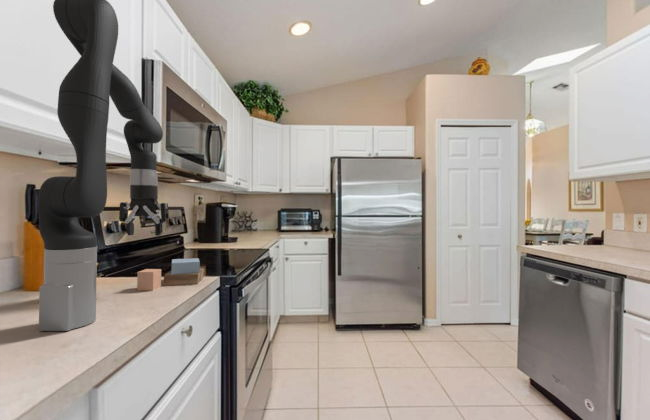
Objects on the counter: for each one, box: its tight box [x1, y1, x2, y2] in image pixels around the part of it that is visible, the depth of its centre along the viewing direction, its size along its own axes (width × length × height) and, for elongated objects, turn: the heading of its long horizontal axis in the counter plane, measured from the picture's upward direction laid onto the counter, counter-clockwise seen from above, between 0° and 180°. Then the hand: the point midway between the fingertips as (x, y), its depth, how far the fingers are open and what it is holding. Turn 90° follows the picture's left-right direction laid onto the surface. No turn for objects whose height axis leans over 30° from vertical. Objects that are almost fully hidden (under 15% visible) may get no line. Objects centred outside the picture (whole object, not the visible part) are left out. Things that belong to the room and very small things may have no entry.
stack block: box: [136, 268, 162, 292], centre depth 100 cm, size 5×5×6 cm
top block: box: [170, 257, 201, 275], centre depth 111 cm, size 9×9×4 cm
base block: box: [163, 267, 205, 286], centre depth 111 cm, size 11×11×4 cm
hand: (144, 235), depth 97 cm, fingers open, 8 cm apart
